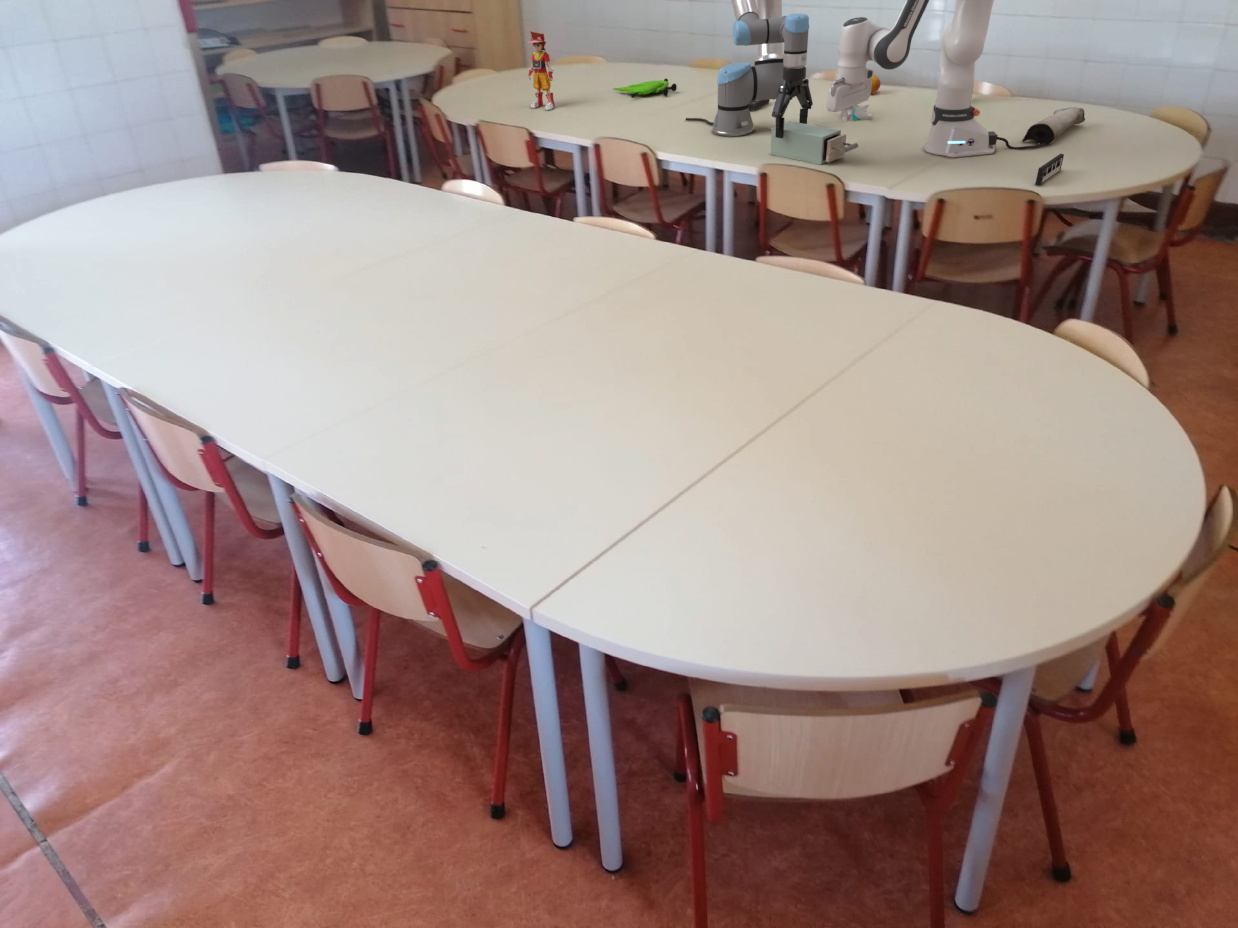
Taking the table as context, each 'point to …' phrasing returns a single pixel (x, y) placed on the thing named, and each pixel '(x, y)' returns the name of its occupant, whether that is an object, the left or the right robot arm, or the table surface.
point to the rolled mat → (1054, 125)
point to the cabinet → (802, 142)
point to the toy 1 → (541, 71)
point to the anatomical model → (861, 112)
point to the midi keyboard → (1049, 169)
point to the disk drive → (757, 104)
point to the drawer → (836, 147)
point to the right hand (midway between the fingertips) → (846, 120)
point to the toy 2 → (648, 88)
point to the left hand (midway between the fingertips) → (791, 133)
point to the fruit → (875, 84)
